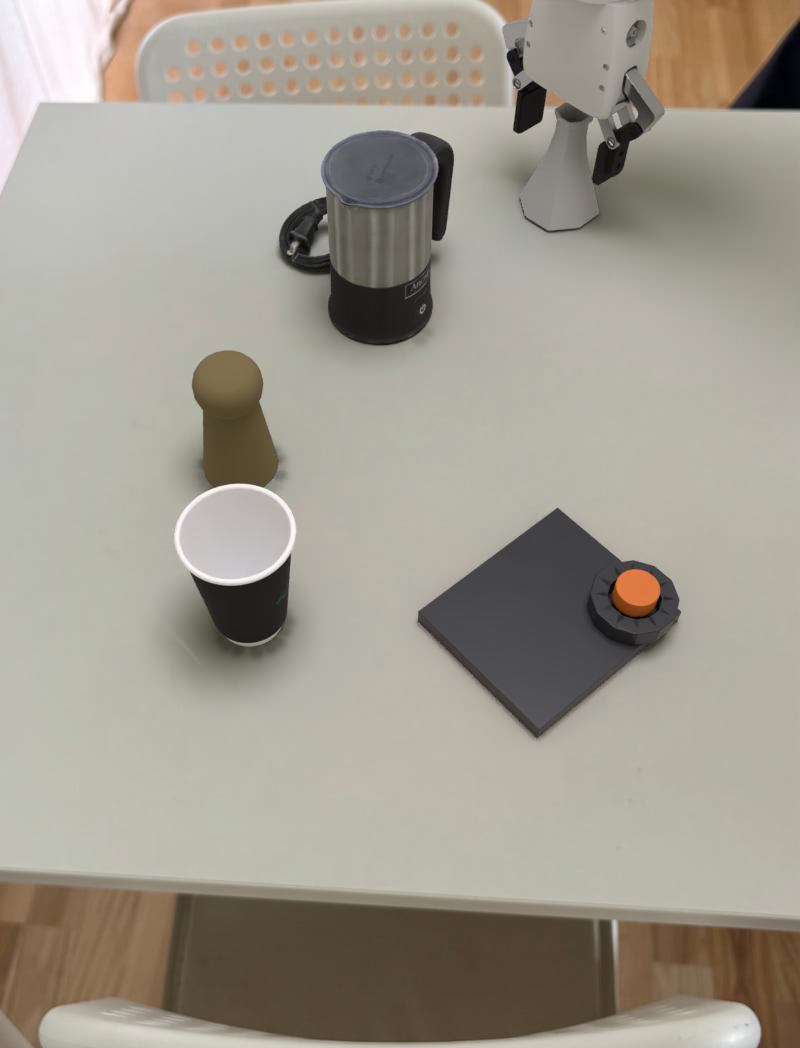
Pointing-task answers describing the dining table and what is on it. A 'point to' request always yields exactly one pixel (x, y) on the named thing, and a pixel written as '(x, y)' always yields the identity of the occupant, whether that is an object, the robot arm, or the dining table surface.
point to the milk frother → (377, 230)
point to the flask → (563, 176)
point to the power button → (636, 593)
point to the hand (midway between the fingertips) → (566, 151)
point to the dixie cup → (239, 558)
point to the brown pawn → (233, 420)
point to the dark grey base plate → (546, 620)
